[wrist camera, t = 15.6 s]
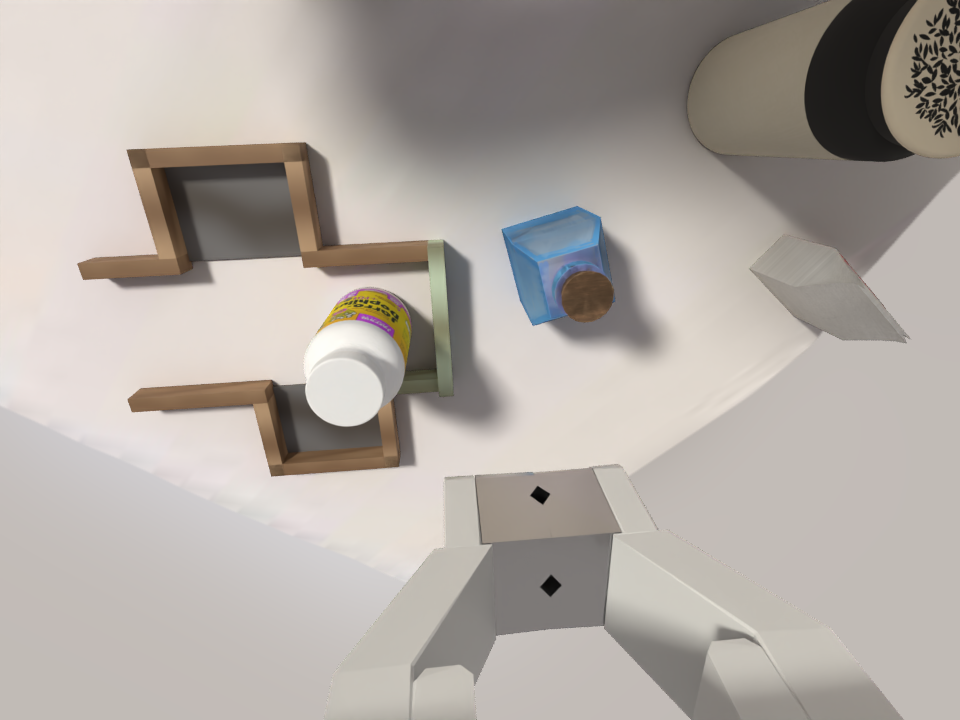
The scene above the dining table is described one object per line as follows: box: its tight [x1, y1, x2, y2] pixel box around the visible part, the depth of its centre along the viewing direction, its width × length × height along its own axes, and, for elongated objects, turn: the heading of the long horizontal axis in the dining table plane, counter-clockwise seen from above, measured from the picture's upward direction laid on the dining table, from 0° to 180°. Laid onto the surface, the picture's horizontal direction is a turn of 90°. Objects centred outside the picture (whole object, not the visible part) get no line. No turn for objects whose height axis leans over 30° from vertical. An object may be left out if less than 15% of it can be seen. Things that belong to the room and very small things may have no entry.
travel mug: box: [687, 0, 960, 162], centre depth 28 cm, size 8×8×18 cm
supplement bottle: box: [304, 287, 412, 427], centre depth 36 cm, size 7×7×13 cm
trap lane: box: [78, 143, 454, 476], centre depth 40 cm, size 27×27×3 cm
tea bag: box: [749, 235, 909, 343], centre depth 38 cm, size 4×7×10 cm, turn 49°
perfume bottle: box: [502, 206, 615, 326], centre depth 35 cm, size 6×6×12 cm
